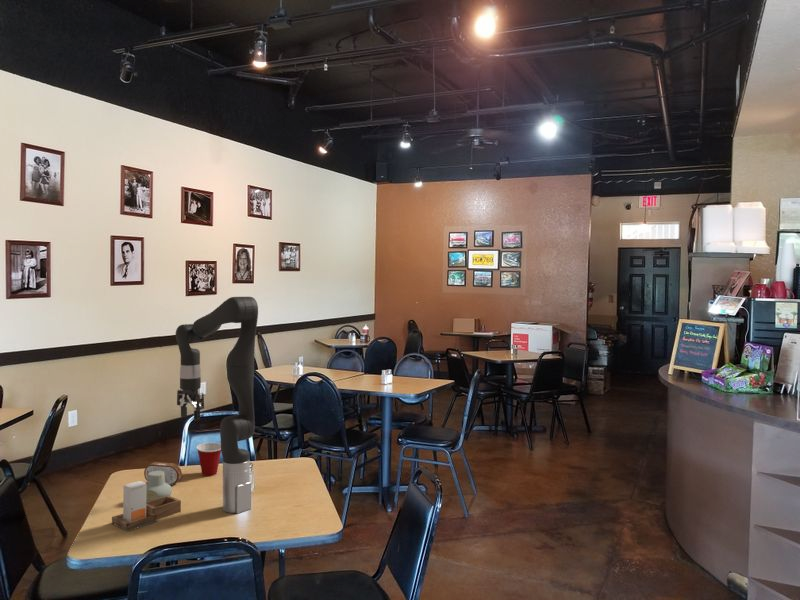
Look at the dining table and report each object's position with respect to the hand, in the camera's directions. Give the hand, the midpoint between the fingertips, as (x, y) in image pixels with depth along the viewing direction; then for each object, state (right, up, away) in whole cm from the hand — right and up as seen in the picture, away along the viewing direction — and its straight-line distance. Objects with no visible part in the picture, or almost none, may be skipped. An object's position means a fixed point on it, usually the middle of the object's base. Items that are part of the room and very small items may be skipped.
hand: (190, 418), depth 229 cm
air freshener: (-10, -29, -8) cm, 31 cm away
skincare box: (-8, -28, -30) cm, 42 cm away
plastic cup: (+1, -28, +22) cm, 35 cm away
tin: (-14, -28, +9) cm, 33 cm away
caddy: (-5, -29, -25) cm, 38 cm away
